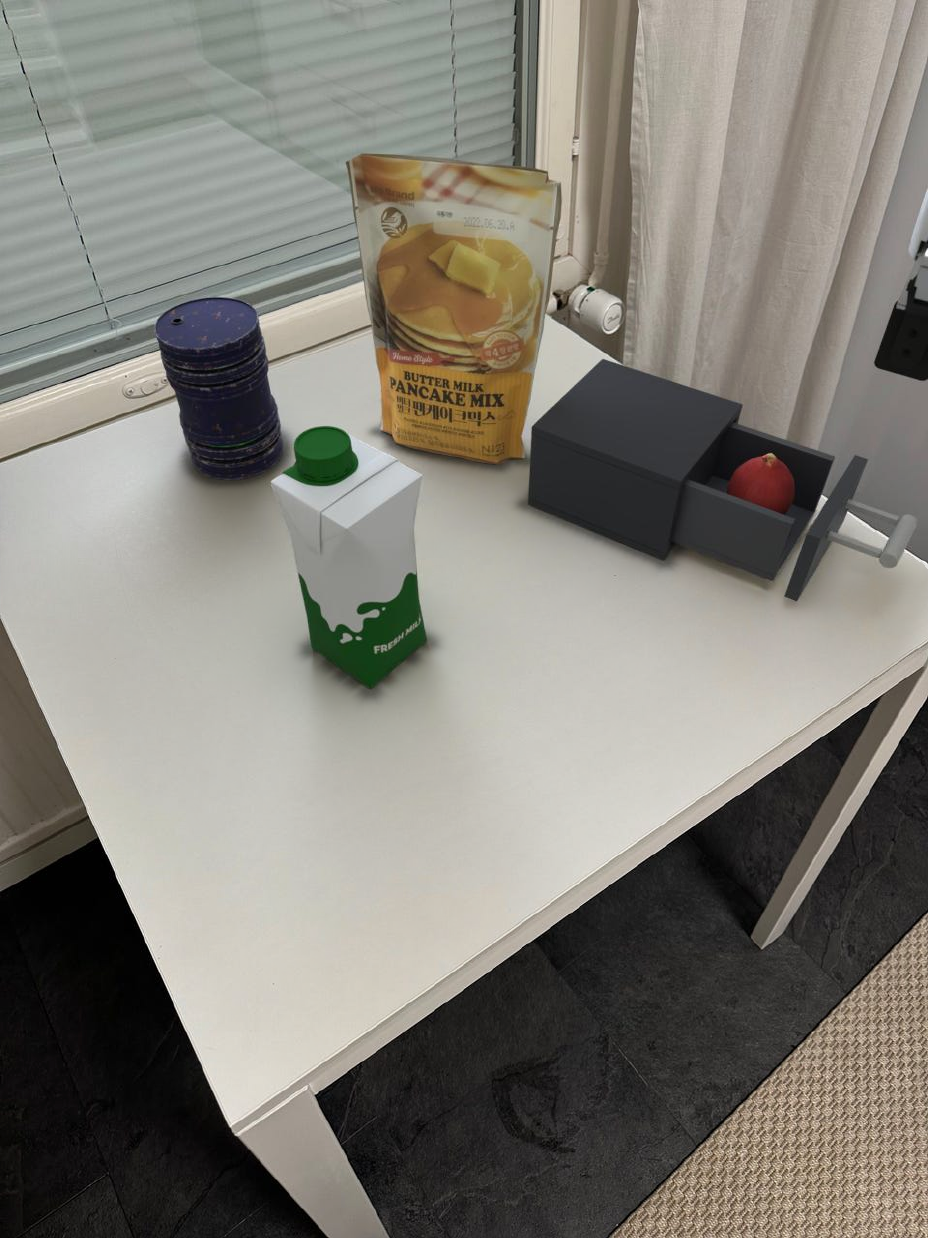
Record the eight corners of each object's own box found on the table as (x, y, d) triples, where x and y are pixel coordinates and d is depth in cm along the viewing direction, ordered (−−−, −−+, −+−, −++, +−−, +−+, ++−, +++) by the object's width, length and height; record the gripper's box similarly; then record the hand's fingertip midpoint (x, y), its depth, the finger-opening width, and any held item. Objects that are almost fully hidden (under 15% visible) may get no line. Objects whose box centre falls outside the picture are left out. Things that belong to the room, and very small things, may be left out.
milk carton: (368, 592, 80) (343, 402, 66) (443, 641, 76) (435, 449, 61) (295, 648, 76) (251, 458, 61) (371, 703, 72) (343, 513, 57)
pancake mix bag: (384, 406, 100) (360, 138, 80) (548, 438, 96) (567, 163, 75) (360, 440, 96) (328, 166, 75) (530, 475, 91) (545, 194, 71)
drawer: (907, 545, 82) (937, 482, 77) (865, 630, 75) (895, 566, 70) (709, 473, 90) (724, 411, 84) (654, 544, 83) (666, 481, 77)
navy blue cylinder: (294, 426, 98) (271, 298, 87) (272, 483, 91) (243, 351, 80) (206, 422, 98) (172, 294, 87) (177, 477, 92) (137, 346, 81)
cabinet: (722, 482, 90) (742, 404, 83) (664, 561, 83) (680, 481, 76) (593, 435, 96) (602, 358, 89) (527, 504, 88) (531, 426, 81)
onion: (731, 495, 86) (750, 426, 80) (791, 515, 84) (814, 445, 78) (710, 530, 82) (728, 460, 76) (771, 552, 80) (794, 481, 74)
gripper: (1107, 74, 37) (949, 423, 49) (1163, -17, 46) (1019, 295, 59) (920, 47, 40) (816, 382, 52) (1009, -33, 49) (903, 267, 62)
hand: (924, 336), depth 56 cm, fingers open, 9 cm apart
